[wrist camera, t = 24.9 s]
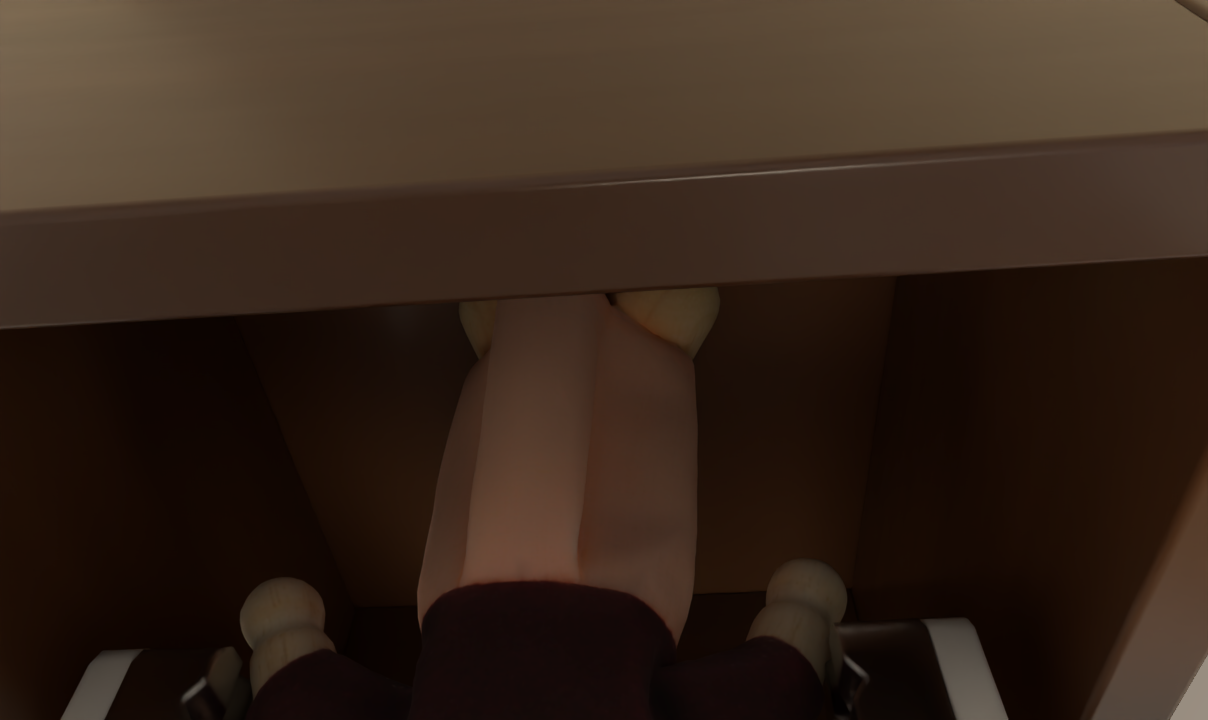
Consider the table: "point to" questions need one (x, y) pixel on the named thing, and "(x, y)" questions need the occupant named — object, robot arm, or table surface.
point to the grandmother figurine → (562, 545)
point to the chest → (598, 266)
